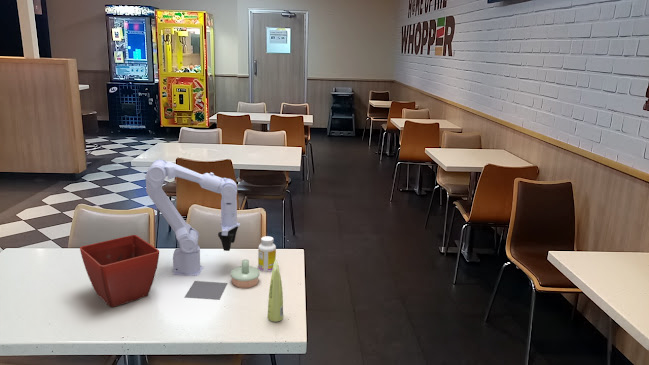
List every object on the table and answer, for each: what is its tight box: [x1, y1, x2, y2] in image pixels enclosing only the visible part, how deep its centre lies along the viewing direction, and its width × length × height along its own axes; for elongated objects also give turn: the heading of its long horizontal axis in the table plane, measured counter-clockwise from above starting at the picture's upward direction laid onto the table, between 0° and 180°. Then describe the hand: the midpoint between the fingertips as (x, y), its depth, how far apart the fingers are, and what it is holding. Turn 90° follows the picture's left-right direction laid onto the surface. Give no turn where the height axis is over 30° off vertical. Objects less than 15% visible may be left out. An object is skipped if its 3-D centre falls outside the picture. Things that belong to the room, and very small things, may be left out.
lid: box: [230, 259, 261, 281], centre depth 176 cm, size 10×10×5 cm
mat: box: [184, 280, 228, 301], centre depth 171 cm, size 12×12×1 cm
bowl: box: [231, 276, 260, 289], centre depth 178 cm, size 9×9×4 cm
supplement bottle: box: [257, 235, 277, 273], centre depth 188 cm, size 7×7×13 cm
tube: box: [267, 256, 284, 323], centre depth 154 cm, size 6×5×20 cm
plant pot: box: [79, 234, 160, 308], centre depth 164 cm, size 19×19×17 cm
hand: (229, 246), depth 184 cm, fingers open, 7 cm apart
